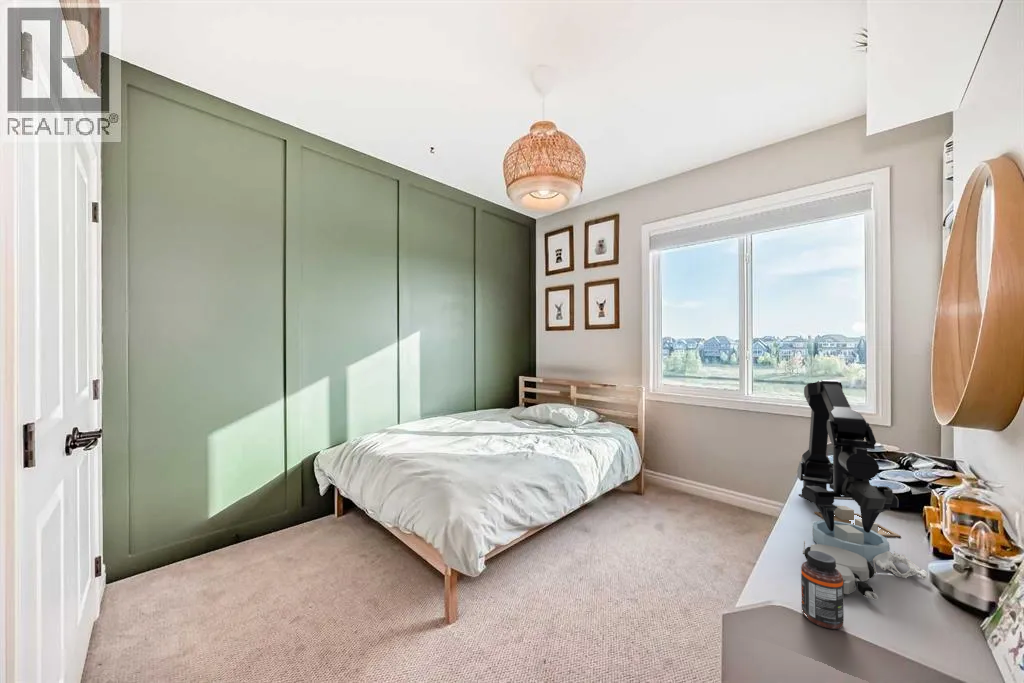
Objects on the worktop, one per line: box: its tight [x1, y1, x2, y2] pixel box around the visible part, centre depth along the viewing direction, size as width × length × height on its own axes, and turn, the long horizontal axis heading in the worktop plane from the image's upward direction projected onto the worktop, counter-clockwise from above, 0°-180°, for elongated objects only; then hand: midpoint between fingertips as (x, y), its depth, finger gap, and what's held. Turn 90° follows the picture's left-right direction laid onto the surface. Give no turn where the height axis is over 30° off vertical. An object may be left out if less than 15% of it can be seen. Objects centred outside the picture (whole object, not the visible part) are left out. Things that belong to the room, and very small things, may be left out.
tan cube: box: [834, 505, 855, 520], centre depth 113 cm, size 3×3×3 cm
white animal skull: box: [874, 551, 929, 580], centre depth 85 cm, size 8×4×7 cm
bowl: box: [811, 519, 891, 562], centre depth 96 cm, size 14×14×4 cm
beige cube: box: [834, 525, 864, 545], centre depth 96 cm, size 4×4×4 cm
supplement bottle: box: [800, 551, 845, 630], centre depth 71 cm, size 6×6×11 cm
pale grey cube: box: [855, 519, 879, 533], centre depth 104 cm, size 3×3×3 cm
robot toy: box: [802, 540, 879, 600], centre depth 83 cm, size 12×4×15 cm
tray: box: [813, 511, 902, 539], centre depth 109 cm, size 14×12×1 cm
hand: (848, 531), depth 97 cm, fingers open, 8 cm apart
